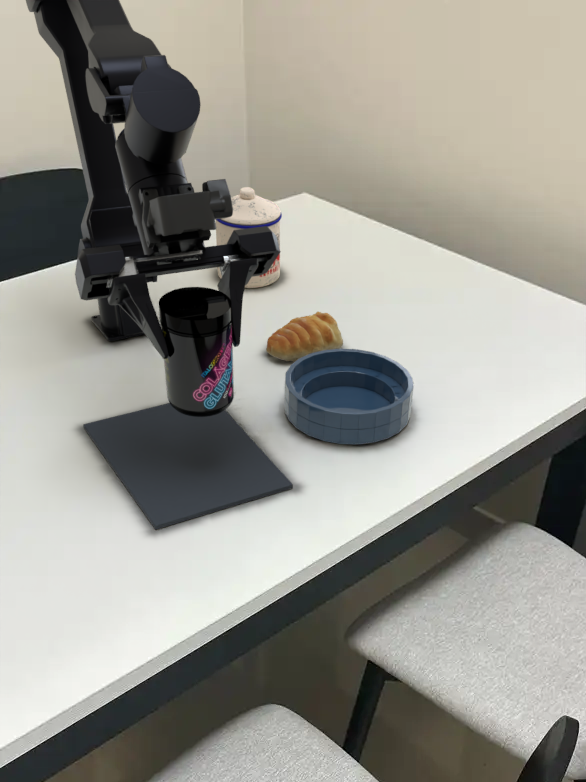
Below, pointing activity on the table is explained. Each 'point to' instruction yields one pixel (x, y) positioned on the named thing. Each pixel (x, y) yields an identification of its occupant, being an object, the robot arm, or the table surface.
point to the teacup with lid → (250, 215)
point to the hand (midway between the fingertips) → (201, 351)
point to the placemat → (184, 462)
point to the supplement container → (198, 350)
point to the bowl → (348, 396)
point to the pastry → (305, 337)
